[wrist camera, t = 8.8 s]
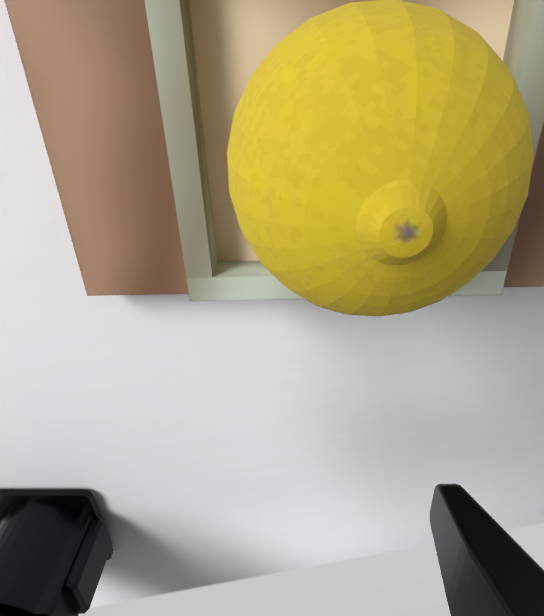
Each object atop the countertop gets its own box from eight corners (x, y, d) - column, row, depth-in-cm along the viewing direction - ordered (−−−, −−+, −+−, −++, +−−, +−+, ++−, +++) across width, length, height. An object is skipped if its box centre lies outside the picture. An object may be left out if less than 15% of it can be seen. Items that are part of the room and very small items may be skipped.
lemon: (486, 67, 12) (769, 98, 5) (384, 250, 14) (470, 440, 7) (290, -26, 11) (285, -155, 4) (220, 187, 13) (145, 333, 7)
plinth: (100, 279, 20) (45, 347, 15) (-2, -116, 13) (-152, -201, 9) (568, 269, 19) (656, 338, 14) (706, -163, 12) (948, -285, 8)
